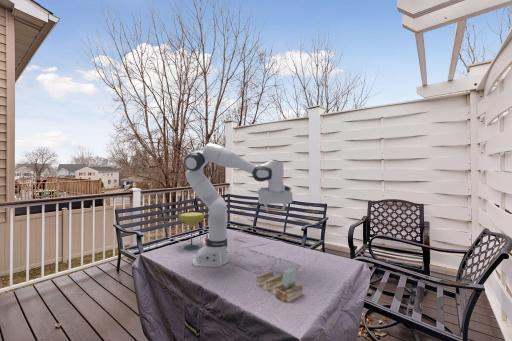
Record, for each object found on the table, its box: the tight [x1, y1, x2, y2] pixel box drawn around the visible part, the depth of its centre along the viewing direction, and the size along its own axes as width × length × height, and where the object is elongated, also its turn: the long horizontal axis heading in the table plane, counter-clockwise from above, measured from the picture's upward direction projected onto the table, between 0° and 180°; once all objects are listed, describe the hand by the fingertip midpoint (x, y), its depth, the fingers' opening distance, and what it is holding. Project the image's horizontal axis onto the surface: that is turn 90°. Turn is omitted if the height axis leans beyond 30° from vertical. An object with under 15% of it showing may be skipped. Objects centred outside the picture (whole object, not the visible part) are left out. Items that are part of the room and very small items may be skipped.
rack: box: [256, 270, 304, 303], centre depth 122 cm, size 21×11×4 cm, turn 42°
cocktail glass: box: [178, 210, 205, 251], centre depth 182 cm, size 18×18×25 cm
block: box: [282, 267, 297, 293], centre depth 118 cm, size 3×6×10 cm, turn 132°
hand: (275, 211), depth 146 cm, fingers open, 8 cm apart
